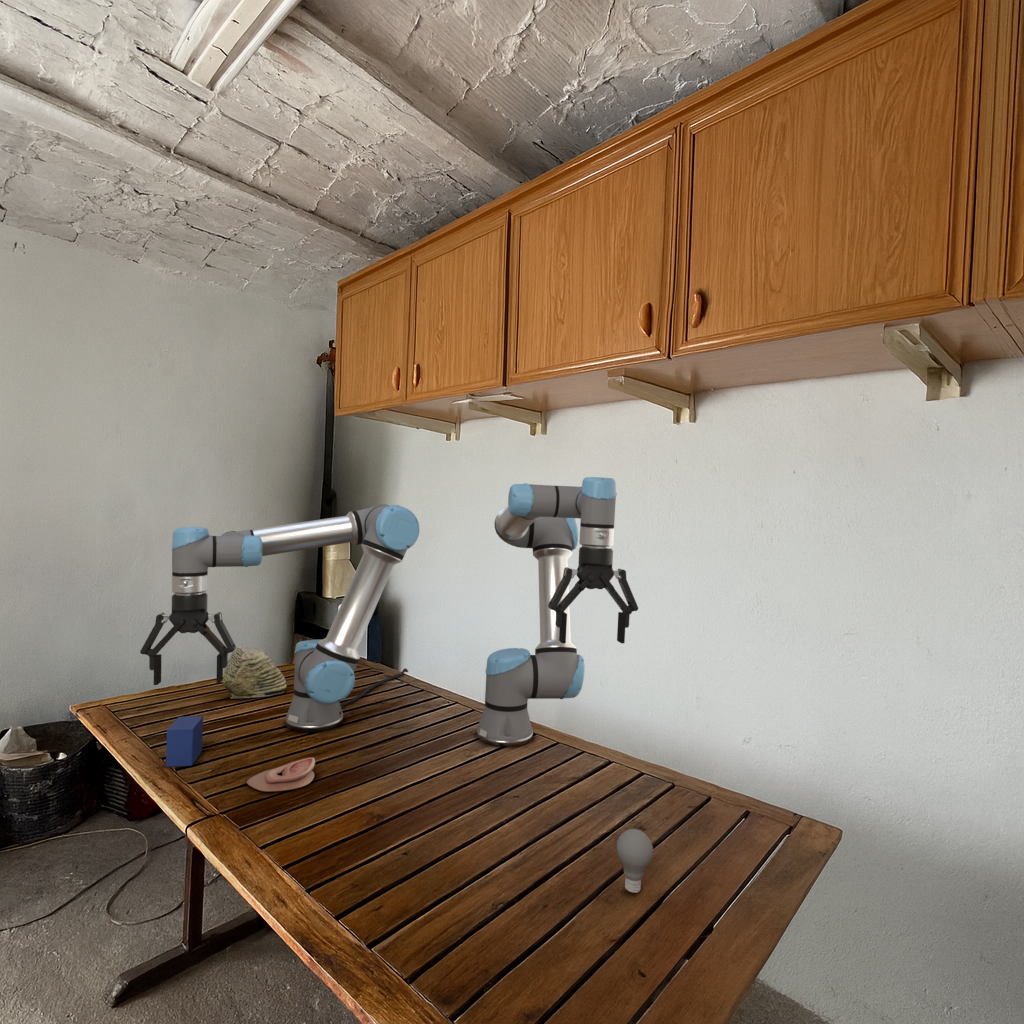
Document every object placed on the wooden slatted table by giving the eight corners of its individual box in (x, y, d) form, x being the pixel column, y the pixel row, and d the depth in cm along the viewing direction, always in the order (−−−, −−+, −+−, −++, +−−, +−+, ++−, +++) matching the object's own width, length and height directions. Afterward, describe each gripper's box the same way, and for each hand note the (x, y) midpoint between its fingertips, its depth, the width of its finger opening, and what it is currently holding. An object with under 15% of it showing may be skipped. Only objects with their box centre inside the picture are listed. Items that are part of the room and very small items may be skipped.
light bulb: (610, 879, 108) (613, 822, 108) (644, 879, 109) (647, 822, 109) (619, 902, 102) (622, 840, 102) (655, 901, 103) (658, 840, 103)
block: (177, 751, 153) (178, 716, 153) (202, 751, 154) (203, 716, 154) (165, 766, 145) (167, 729, 145) (191, 765, 146) (192, 729, 146)
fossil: (218, 695, 195) (220, 647, 195) (278, 685, 208) (279, 640, 207) (228, 703, 189) (230, 653, 188) (289, 692, 201) (290, 645, 201)
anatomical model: (238, 769, 136) (269, 749, 147) (238, 787, 136) (269, 766, 147) (295, 777, 133) (322, 756, 144) (294, 796, 133) (321, 773, 144)
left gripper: (125, 595, 143) (124, 689, 143) (242, 595, 148) (241, 685, 148) (137, 590, 150) (137, 679, 151) (249, 590, 155) (248, 676, 156)
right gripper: (545, 546, 134) (541, 646, 135) (655, 549, 139) (651, 645, 140) (537, 543, 142) (533, 638, 142) (642, 547, 147) (637, 638, 147)
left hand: (188, 682), depth 149 cm, fingers open, 13 cm apart
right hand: (591, 642), depth 141 cm, fingers open, 13 cm apart
